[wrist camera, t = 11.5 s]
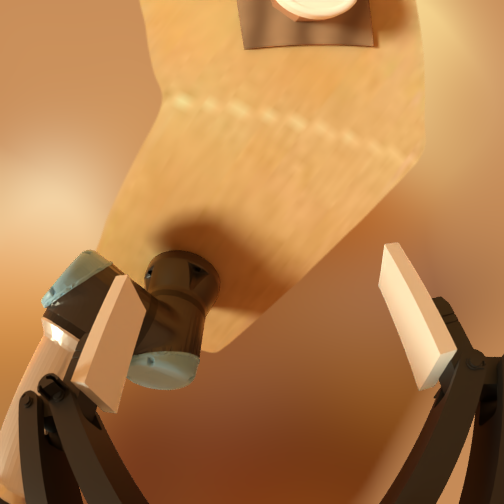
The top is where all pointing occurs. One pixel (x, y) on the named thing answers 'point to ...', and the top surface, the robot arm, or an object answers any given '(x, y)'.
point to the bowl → (291, 15)
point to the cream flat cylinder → (317, 7)
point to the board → (302, 27)
